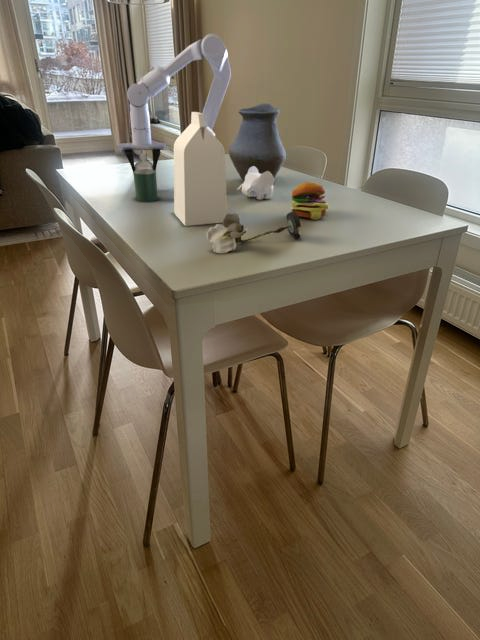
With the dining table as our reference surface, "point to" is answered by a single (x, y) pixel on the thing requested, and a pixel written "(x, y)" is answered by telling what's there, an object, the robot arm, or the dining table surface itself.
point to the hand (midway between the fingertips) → (144, 174)
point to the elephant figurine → (258, 184)
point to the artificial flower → (243, 232)
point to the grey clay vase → (258, 141)
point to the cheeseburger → (309, 201)
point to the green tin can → (145, 185)
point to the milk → (199, 175)
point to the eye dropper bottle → (143, 162)
